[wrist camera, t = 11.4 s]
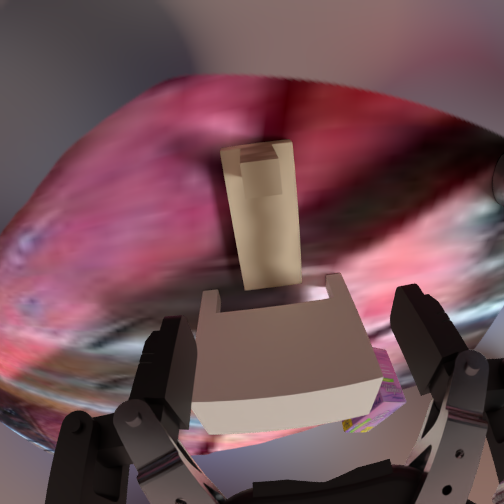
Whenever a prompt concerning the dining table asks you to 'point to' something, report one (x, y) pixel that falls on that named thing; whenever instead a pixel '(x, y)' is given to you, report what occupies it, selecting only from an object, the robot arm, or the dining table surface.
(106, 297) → the dining table surface
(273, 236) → the stepped wooden block
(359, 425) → the box
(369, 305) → the dining table surface
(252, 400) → the notched block
